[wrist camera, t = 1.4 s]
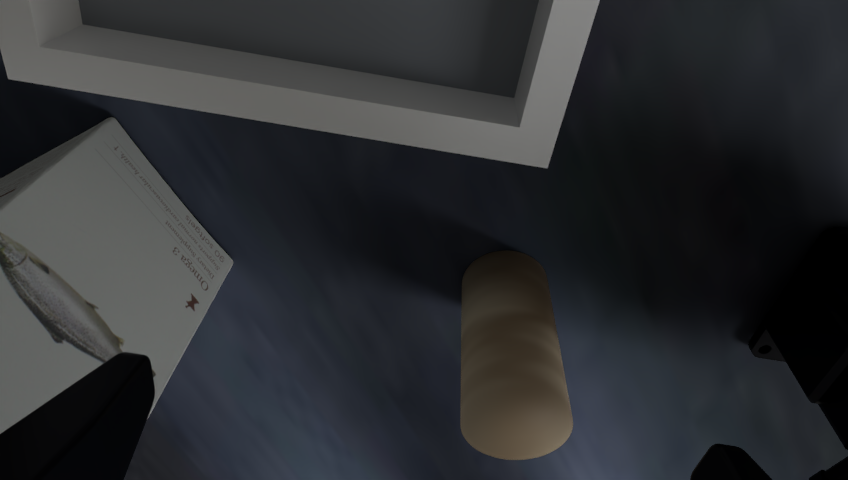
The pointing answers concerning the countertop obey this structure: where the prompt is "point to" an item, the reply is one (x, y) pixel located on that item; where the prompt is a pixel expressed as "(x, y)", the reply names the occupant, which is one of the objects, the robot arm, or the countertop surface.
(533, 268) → the wooden peg
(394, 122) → the grey box
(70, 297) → the supplement box
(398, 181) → the countertop surface
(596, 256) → the countertop surface
